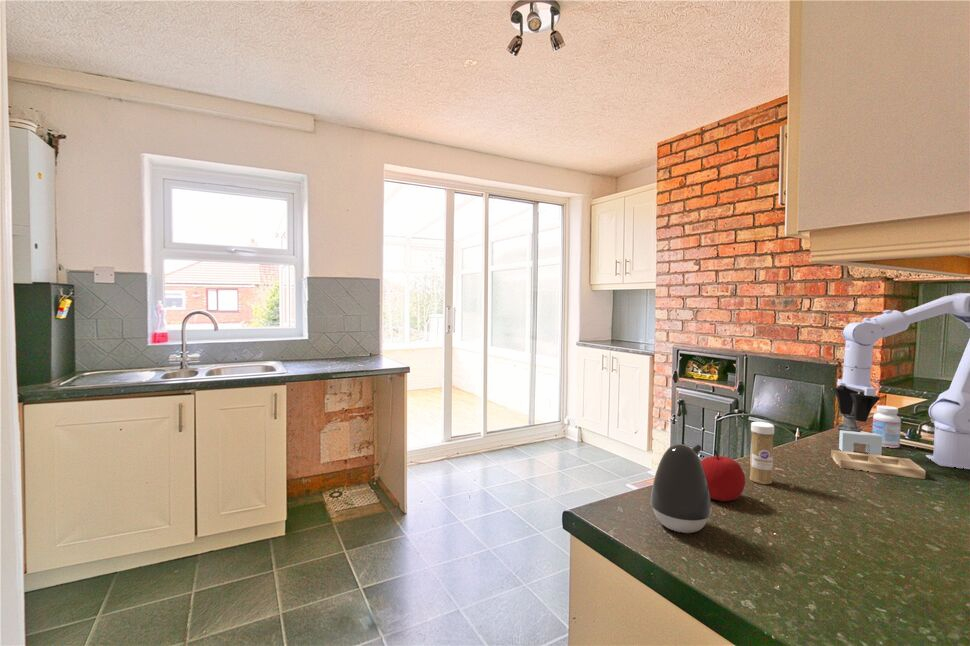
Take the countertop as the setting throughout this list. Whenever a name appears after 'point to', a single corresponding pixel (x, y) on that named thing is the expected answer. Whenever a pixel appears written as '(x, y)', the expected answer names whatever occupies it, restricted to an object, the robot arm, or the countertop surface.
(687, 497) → the grey egg-shaped body
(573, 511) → the countertop surface
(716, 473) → the apple
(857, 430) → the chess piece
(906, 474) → the wooden slotted board
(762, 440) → the sprinkles bottle
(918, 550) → the countertop surface
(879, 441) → the pale blue u-shaped block
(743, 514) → the countertop surface
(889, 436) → the pill bottle
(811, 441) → the countertop surface
